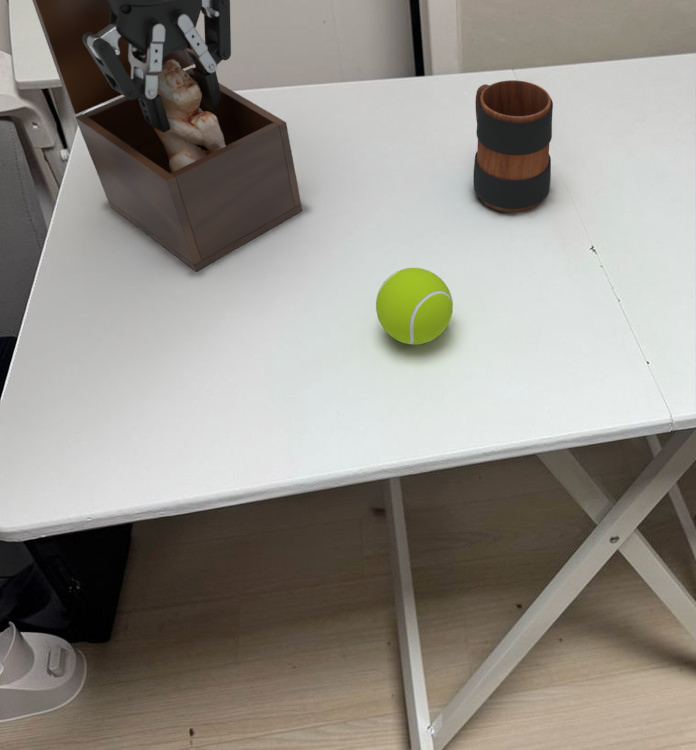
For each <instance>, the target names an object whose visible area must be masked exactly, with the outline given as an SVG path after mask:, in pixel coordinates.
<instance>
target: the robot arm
mask: <svg viewBox="0 0 696 750" xmlns="http://www.w3.org/2000/svg"><path fill="white" fill-rule="evenodd" d="M108 2H109V5H110V17H109V23H110V24H109V25H108V26H106V27H105V28H103V29H102V30H100V31H99V32H98V33H96V34H94V33H92V32H86V33H85V34H84V35H83V38H82V40H83V43H84V44H85V46H86V47H87V49H88V51H89V52H90V54H91V55H92V57H93V59H94V60H95V62H96V63H97V65H98V67H99V68H100V70H101V71H102V73H103V74H104V76H105V78H106V79H107V81H108V82H109V84H110V86H111V87H112V89H113V90H115V91H116V92H119V93H120V94H122V95H121V96H123V97H124V96H125V97H126V98H127V99H129V100H135V99H136V98H138V100H139V103H140V106H141V109H142V113H143V116H144V119H145V121H146V122H147V123H148V124H149V125H151V126H152V127H154V128H156V129H158V130H159V131H161V132H163V133H164V132H166V131H168V130H170V125H169V122H168V118H167V115H166V111H165V108H164V105H163V101H162V98H161V96H160V95H158V94H157V91H158V75H159V74H160V73H161V72H162V58H164V57H166V56H168V55H169V54H170V53H172V52H173V51H180V50H184V51H185V53H186V54H187V56H188V57H189V59H190V60H191V61H192V63H193V65H194V67H191V68H192V70H193V73H194V77H195V81H196V82H197V83H198V85H199V87H200V90H201V92H202V98H201V102H202V103H203V105H205V106H207V107H208V108H210V109H211V110H214V109H216V108H218V107H219V101H220V100H221V91H220V87H219V83H220V82H219V79H218V75H217V69H218V65H219V64H220V63H221V62H222V61H228V60H229V59H230V58H231V56H232V36H231V35H232V33H231V32H232V31H231V0H108ZM201 13H202V15H203V23H204V24H203V26H204V28H203V29H204V39H203V38H202V37H201V34H200V33H199V31H198V30H197V28H196V27H197V24H198V21H199V18H200V15H201ZM120 37H122V38H123V39H124V40H126V41H127V42H128V43H129V45H128V60H129V63H130V64H131V78H130V77H129V75H128V73H127V72H126V70H125V68H124V67H123V65H122V63H121V62H120V60H119V58H118V57H117V56H118V55H120V49H119V46H118V40H119V38H120ZM145 55H147V58H146V56H145Z"/></svg>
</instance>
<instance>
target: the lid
mask: <svg viewBox="0 0 696 750" xmlns="http://www.w3.org/2000/svg"><path fill="white" fill-rule="evenodd" d="M32 3H33V6H34V9H35V12H36V15H37V18H38V20H39V24H40V27H41V30H42V32H43V36H44V37H45V41H46V44H47V46H48V49H49V53H50V55H51V58H52V60H53V64H54V67H55V69H56V72H57V75H58V78H59V81H60V84H61V86H62V89H63V92H64V95H65V98H66V101H67V103H68V106H69V108H70V111H71V112H72V113H73V114H74V115H79V114H80V113H83V112H85V111H87V110H90V109H92V108H94V107H96V106H99V105H102V104H104V103H107V102H108V101H111V100H113V99H115V98H118V97H121V96H123V95H122V94H120V93H119V92H116V91H115V90H113V89H112V87H111V86H110V84H109V82H108V81H107V79H106V78H105V76H104V74H103V73H102V71H101V70H100V68H99V67H98V65H97V63H96V62H95V60H94V59H93V57H92V55H91V54H90V52H89V51H88V49H87V47H86V46H85V44H84V43H83V40H82V38H83V35H84V34H85V33H86V32H92V33H94V34H96V33H98V32H99V31H100V30H102V29H103V28H105V27H106V26H108V25H109V24H110V23H109V17H110V5H109V2H108V0H32ZM128 45H129V43H128V42H127V41H126V40H124V39H123V38H122V37H120V38H119V40H118V46H119V49H120V55H118V56H117V57H118V58H119V60H120V62H121V63H122V65H123V67H124V68H125V70H126V72H127V73H128V75H129V77H130V78H131V64H130V63H129V60H128ZM145 56H146V58H147V55H145ZM170 59H174V60H175V61H176V62H178V63H179V65H180V66H181V69H183V70H184V69H187V68H189V67H192V66H193V65H194V64H193V63H192V61H191V60H190V59H189V57H188V56H187V54H186V53H185V51H184V50H180V51H173V52H172V53H170V54H169V55H168V56H166V57H164V58H162V64H163V63H165V62H166V61H168V60H170Z"/></svg>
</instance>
